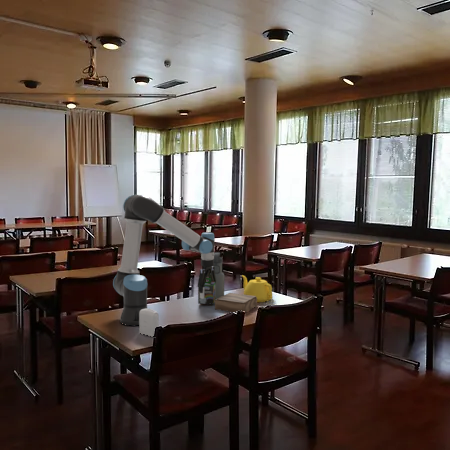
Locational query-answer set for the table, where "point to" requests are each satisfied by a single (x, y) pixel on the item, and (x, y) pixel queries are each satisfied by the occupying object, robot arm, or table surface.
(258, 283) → the teapot
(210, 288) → the chalk box
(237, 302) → the walnut stand
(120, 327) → the table surface
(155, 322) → the photo printer
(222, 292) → the water bottle
